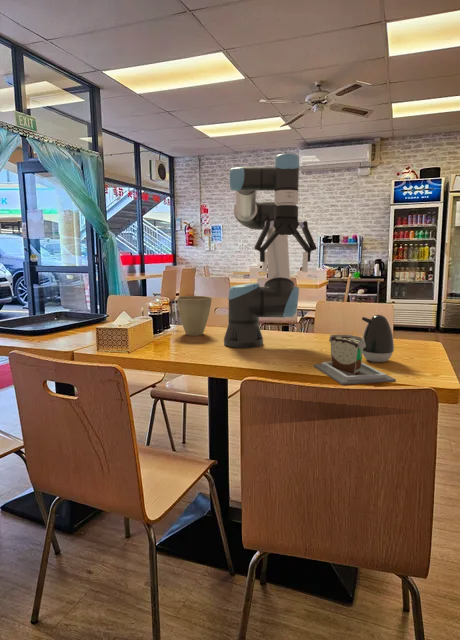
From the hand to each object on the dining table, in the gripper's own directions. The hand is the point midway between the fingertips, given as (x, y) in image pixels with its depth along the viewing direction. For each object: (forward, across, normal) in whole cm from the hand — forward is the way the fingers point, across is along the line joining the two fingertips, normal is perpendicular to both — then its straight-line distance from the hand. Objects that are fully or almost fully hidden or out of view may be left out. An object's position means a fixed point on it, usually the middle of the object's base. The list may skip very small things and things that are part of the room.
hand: (285, 272), depth 145 cm
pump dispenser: (+29, +29, -9) cm, 42 cm away
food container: (+28, +14, -21) cm, 38 cm away
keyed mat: (+29, +14, -22) cm, 39 cm away
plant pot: (+29, -24, +50) cm, 63 cm away
